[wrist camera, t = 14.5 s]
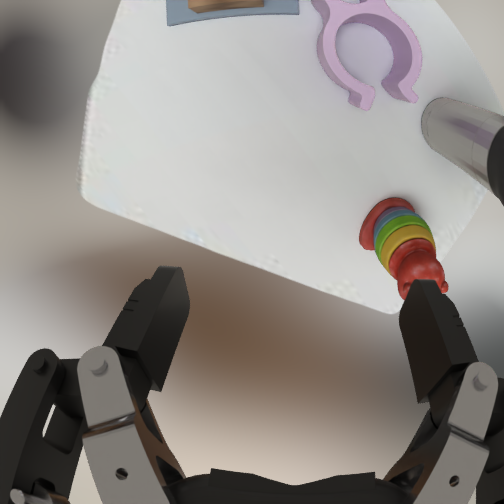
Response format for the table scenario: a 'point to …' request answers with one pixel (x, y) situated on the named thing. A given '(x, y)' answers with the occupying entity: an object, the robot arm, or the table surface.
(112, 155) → the table surface
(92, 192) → the table surface
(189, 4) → the walnut plinth
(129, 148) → the table surface
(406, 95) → the clip
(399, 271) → the stacking bear
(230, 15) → the slate blue board
